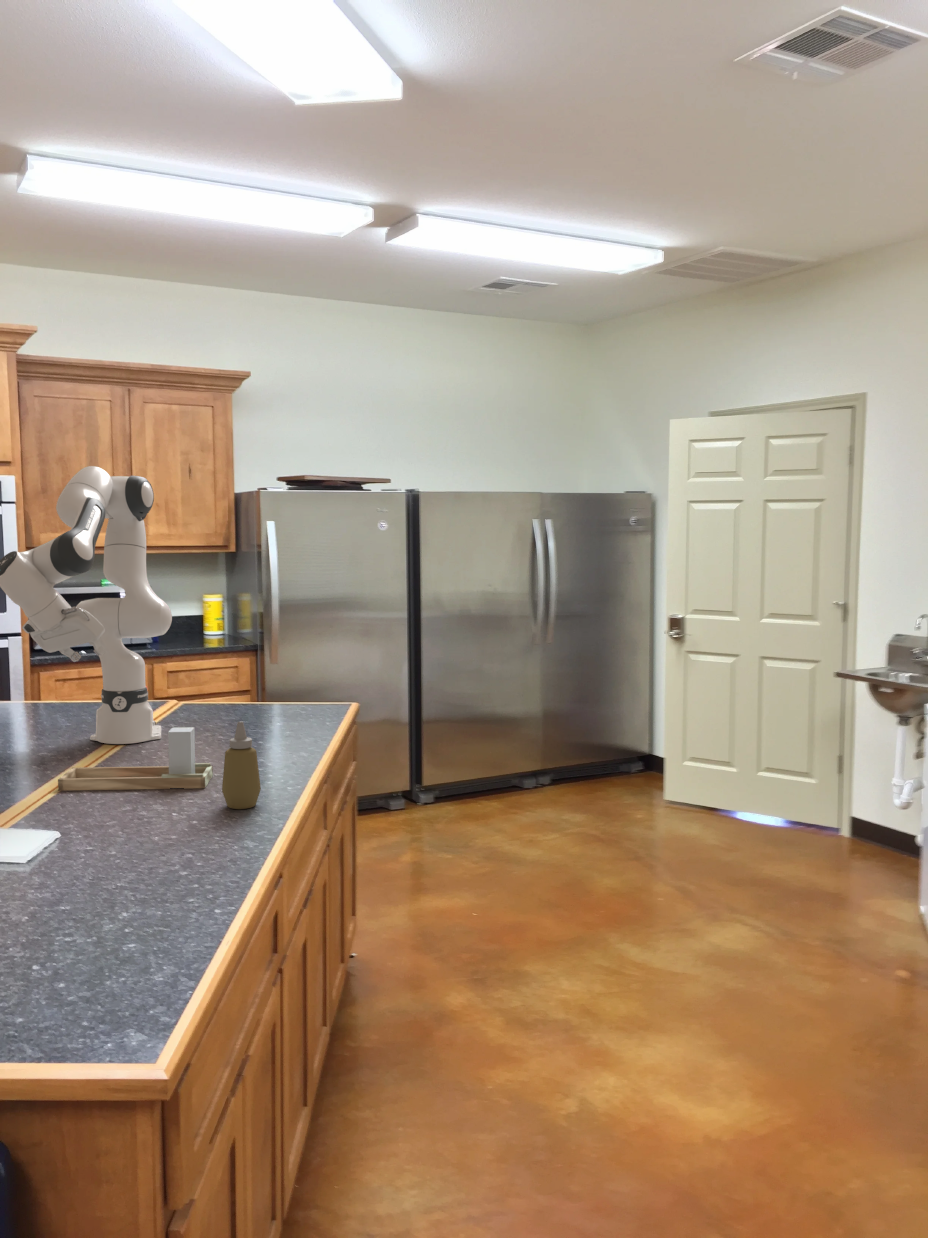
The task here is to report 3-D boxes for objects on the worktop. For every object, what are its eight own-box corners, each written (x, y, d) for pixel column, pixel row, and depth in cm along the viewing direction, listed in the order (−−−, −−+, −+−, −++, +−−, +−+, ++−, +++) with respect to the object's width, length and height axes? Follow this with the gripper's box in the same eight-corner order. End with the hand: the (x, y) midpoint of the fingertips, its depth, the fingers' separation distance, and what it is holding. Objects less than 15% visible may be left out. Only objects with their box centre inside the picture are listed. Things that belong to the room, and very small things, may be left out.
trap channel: (73, 778, 232) (72, 765, 232) (212, 775, 235) (212, 763, 235) (58, 790, 221) (57, 777, 221) (205, 788, 224) (204, 774, 224)
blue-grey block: (173, 778, 231) (172, 727, 230) (195, 778, 231) (194, 727, 230) (169, 784, 226) (167, 732, 225) (191, 783, 226) (190, 731, 225)
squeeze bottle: (268, 803, 212) (267, 719, 211) (248, 813, 205) (247, 727, 203) (235, 799, 215) (234, 717, 213) (214, 809, 207) (212, 724, 206)
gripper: (86, 596, 228) (124, 640, 235) (34, 612, 239) (72, 654, 246) (69, 614, 224) (109, 658, 230) (17, 630, 235) (57, 672, 241)
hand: (89, 656), depth 238 cm, fingers open, 8 cm apart
